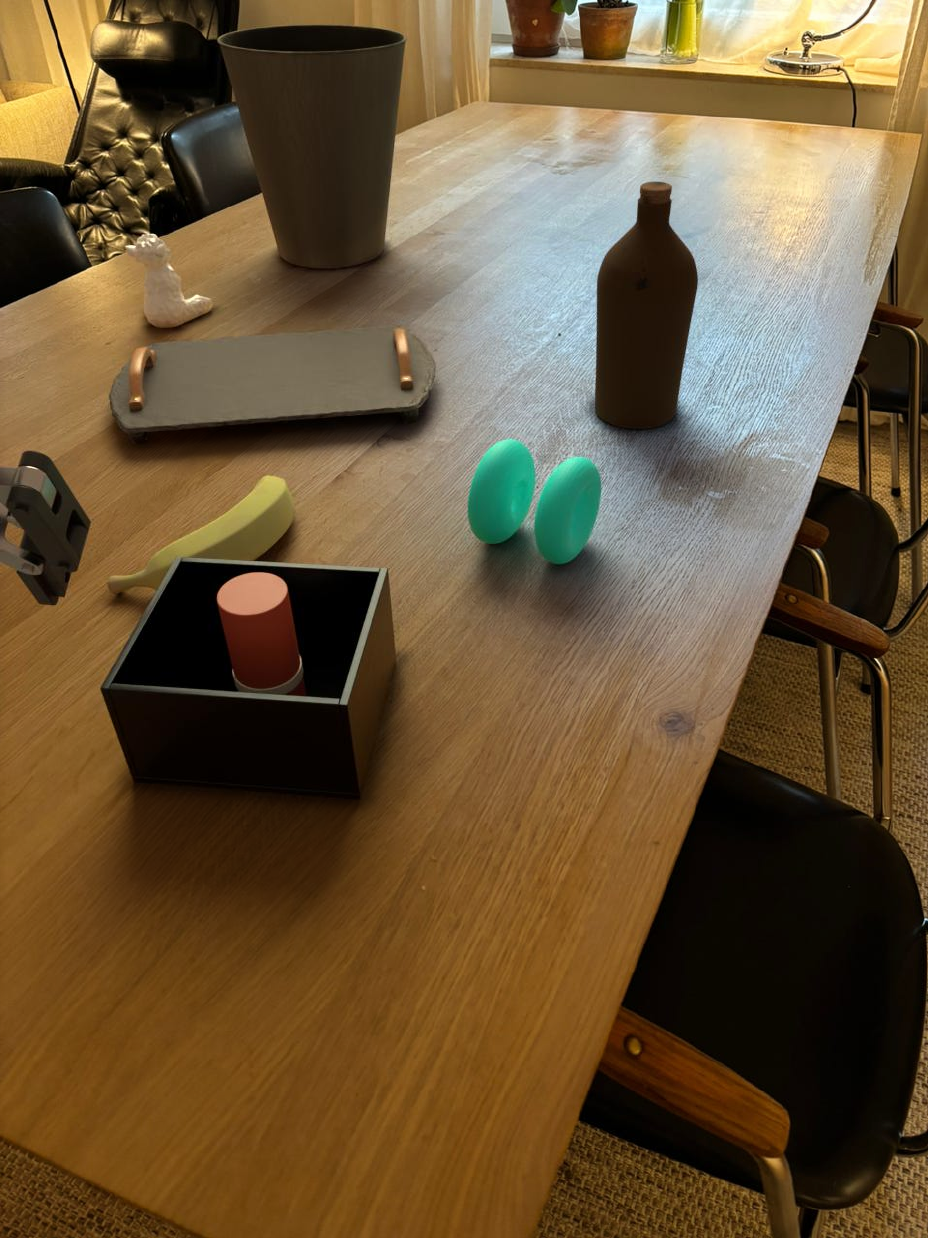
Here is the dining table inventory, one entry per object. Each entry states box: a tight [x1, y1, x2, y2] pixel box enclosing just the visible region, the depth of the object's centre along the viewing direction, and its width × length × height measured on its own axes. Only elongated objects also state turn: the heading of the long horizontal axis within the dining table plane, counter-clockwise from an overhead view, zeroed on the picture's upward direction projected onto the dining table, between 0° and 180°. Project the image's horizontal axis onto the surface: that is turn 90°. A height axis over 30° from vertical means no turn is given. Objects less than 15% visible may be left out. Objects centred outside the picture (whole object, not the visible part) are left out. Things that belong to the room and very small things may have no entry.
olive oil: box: [594, 181, 699, 430], centre depth 108 cm, size 11×11×25 cm
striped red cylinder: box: [217, 572, 307, 697], centre depth 74 cm, size 5×5×12 cm
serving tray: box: [108, 325, 437, 446], centre depth 119 cm, size 39×23×6 cm, turn 97°
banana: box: [106, 475, 296, 595], centre depth 95 cm, size 14×6×20 cm
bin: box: [99, 557, 397, 800], centre depth 75 cm, size 17×15×10 cm
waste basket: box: [216, 23, 408, 269], centre depth 149 cm, size 27×20×30 cm
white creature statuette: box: [124, 233, 214, 329], centre depth 135 cm, size 10×9×12 cm
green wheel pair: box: [467, 438, 602, 565], centre depth 92 cm, size 10×10×10 cm
